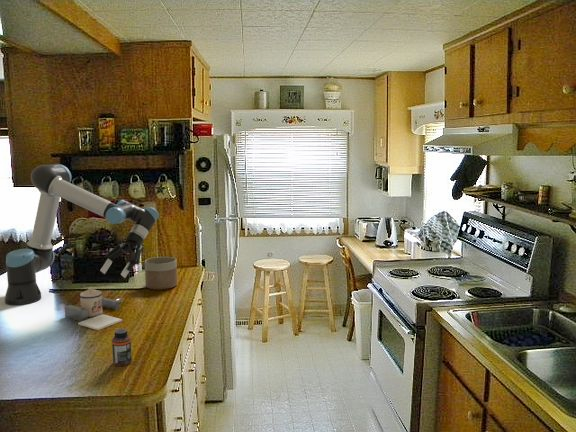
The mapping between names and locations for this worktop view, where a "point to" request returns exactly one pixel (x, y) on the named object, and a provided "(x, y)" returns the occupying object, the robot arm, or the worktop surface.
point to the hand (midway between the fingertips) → (112, 274)
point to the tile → (99, 322)
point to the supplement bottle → (121, 348)
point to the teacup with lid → (92, 301)
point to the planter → (161, 273)
